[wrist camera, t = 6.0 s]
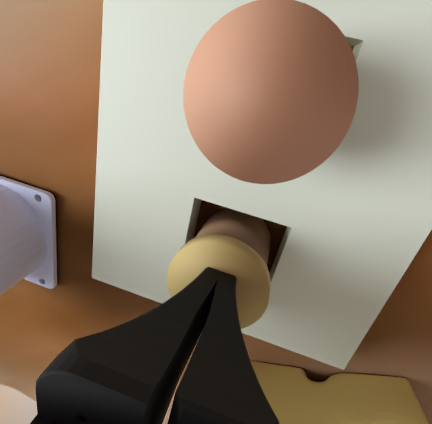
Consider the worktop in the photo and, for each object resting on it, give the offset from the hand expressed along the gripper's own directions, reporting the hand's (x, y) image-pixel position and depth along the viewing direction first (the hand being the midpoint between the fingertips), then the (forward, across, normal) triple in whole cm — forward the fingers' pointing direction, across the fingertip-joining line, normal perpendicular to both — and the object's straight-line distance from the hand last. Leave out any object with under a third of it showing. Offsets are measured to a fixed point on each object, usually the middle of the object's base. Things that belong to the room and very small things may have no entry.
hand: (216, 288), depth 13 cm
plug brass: (+5, 0, 0) cm, 5 cm away
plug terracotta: (+3, 0, -8) cm, 9 cm away
